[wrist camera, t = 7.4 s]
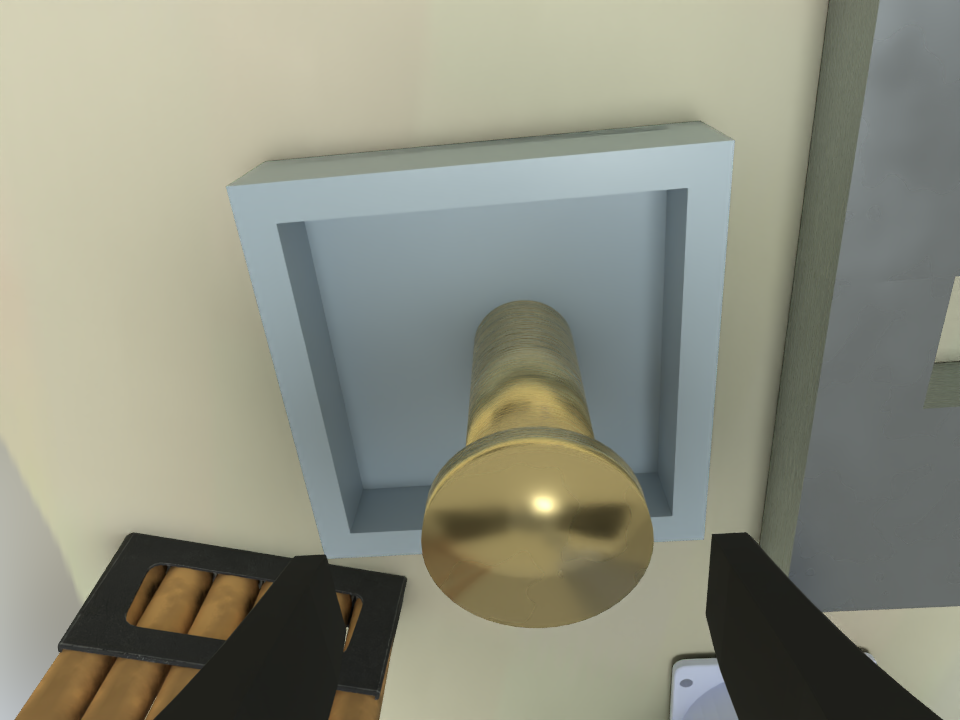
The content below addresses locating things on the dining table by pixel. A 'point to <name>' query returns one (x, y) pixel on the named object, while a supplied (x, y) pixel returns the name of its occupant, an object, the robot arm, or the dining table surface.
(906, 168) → the metal plate with hole
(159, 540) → the ammunition clip
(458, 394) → the tray
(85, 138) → the dining table surface
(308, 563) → the robot arm
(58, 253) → the dining table surface
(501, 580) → the gold flared cylinder
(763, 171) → the dining table surface
